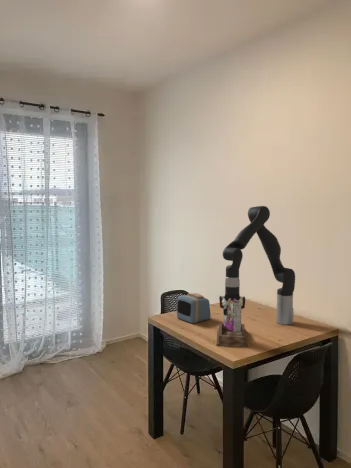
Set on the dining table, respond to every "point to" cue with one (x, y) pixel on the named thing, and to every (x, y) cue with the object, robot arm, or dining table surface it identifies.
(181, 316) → the alarm clock
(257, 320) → the dining table surface
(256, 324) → the dining table surface
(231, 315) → the candy bar box
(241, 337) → the walnut slot stand
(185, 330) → the dining table surface
